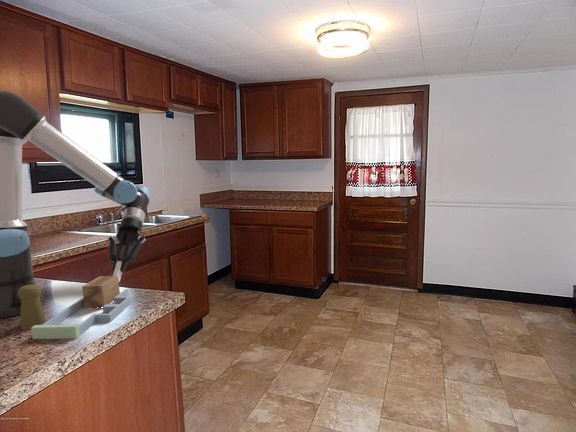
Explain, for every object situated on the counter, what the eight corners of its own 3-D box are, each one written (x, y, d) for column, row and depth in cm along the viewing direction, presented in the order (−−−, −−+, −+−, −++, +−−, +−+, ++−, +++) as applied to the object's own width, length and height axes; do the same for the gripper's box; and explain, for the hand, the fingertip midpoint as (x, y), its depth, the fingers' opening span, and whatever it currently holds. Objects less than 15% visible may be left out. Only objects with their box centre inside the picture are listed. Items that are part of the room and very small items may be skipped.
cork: (33, 330, 100) (28, 290, 99) (14, 329, 102) (8, 289, 100) (52, 320, 106) (47, 282, 105) (33, 319, 108) (28, 281, 106)
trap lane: (32, 339, 95) (31, 327, 95) (95, 295, 126) (94, 286, 125) (92, 338, 95) (91, 326, 95) (141, 294, 125) (140, 285, 125)
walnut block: (84, 309, 115) (82, 286, 114) (101, 297, 125) (99, 276, 124) (104, 308, 115) (102, 286, 114) (120, 296, 124) (118, 275, 123)
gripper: (152, 227, 145) (139, 284, 131) (118, 228, 145) (101, 285, 131) (146, 216, 139) (131, 274, 125) (110, 216, 139) (91, 275, 125)
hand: (115, 280), depth 128 cm, fingers closed
